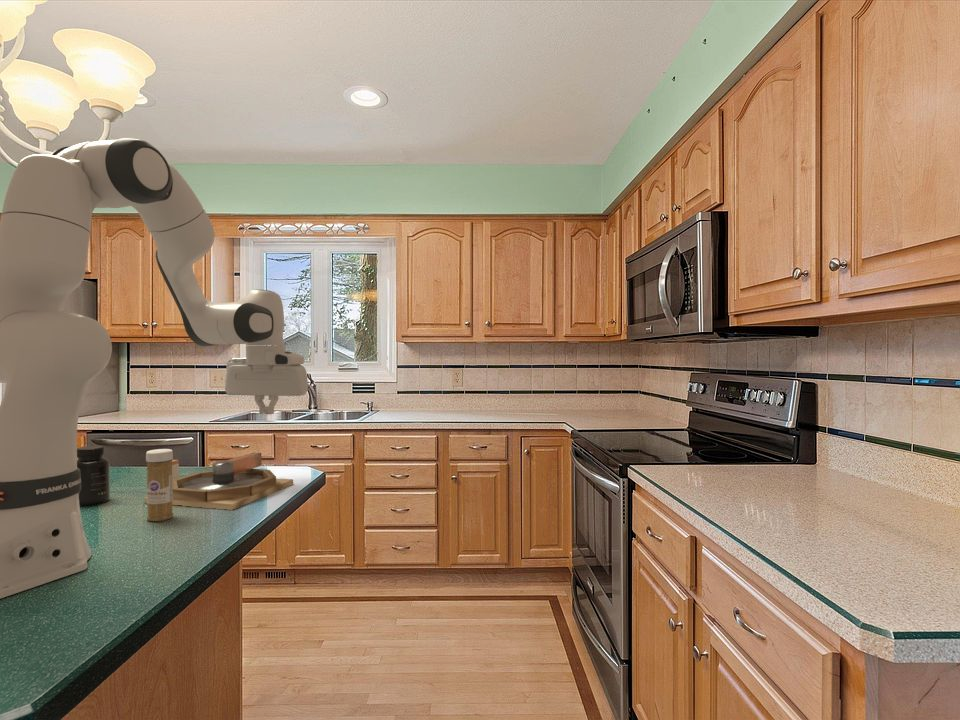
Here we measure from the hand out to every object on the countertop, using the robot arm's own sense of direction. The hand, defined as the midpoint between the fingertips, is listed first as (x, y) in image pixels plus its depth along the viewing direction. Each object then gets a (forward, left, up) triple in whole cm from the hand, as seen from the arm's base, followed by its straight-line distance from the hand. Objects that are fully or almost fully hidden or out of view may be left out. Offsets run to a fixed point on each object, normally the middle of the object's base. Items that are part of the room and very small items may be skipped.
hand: (266, 414), depth 134 cm
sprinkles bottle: (-29, +4, -17) cm, 34 cm away
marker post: (-10, +19, -17) cm, 28 cm away
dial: (-8, +5, -16) cm, 18 cm away
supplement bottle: (-23, +28, -18) cm, 40 cm away
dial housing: (-10, +5, -17) cm, 20 cm away
